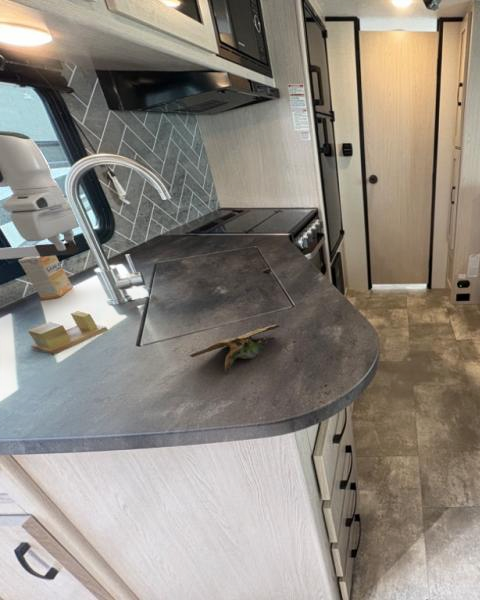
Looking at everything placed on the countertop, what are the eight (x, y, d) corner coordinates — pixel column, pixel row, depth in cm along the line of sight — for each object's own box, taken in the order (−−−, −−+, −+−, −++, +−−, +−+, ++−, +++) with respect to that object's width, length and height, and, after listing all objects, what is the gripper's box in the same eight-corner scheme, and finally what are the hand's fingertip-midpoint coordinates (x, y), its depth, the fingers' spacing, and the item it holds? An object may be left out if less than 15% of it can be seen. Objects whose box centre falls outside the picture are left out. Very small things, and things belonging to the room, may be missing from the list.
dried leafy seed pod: (243, 360, 78) (237, 330, 77) (293, 353, 74) (287, 321, 73) (174, 386, 60) (166, 347, 60) (235, 379, 56) (226, 337, 56)
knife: (79, 251, 93) (73, 240, 91) (74, 253, 91) (68, 242, 90) (2, 258, 89) (-5, 246, 87) (-5, 260, 87) (-12, 248, 85)
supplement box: (61, 297, 98) (38, 257, 92) (41, 300, 96) (16, 260, 90) (74, 287, 105) (53, 249, 99) (56, 289, 103) (33, 251, 97)
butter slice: (78, 327, 79) (70, 313, 77) (85, 324, 80) (77, 310, 79) (90, 330, 78) (82, 316, 76) (97, 327, 79) (90, 313, 77)
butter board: (32, 348, 73) (20, 330, 71) (87, 325, 82) (78, 308, 80) (53, 355, 71) (41, 336, 68) (107, 329, 80) (98, 312, 78)
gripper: (53, 194, 93) (76, 239, 99) (-5, 206, 75) (28, 260, 81) (78, 192, 94) (99, 237, 101) (28, 204, 77) (57, 257, 83)
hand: (67, 248), depth 91 cm, fingers closed on knife, 2 cm apart
